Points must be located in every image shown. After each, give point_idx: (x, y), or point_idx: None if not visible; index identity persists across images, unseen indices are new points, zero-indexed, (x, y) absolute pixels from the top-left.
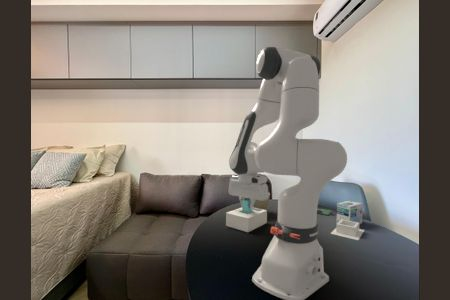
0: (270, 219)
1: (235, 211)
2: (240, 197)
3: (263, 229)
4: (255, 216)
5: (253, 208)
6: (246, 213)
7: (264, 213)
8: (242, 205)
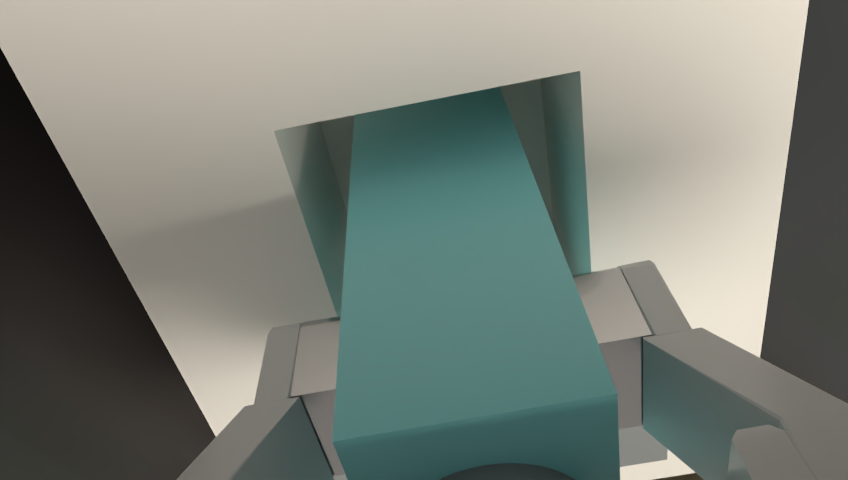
0: None
1: (678, 15)
2: (804, 477)
3: None
4: (100, 193)
5: None
6: (382, 165)
7: None
8: (552, 251)
